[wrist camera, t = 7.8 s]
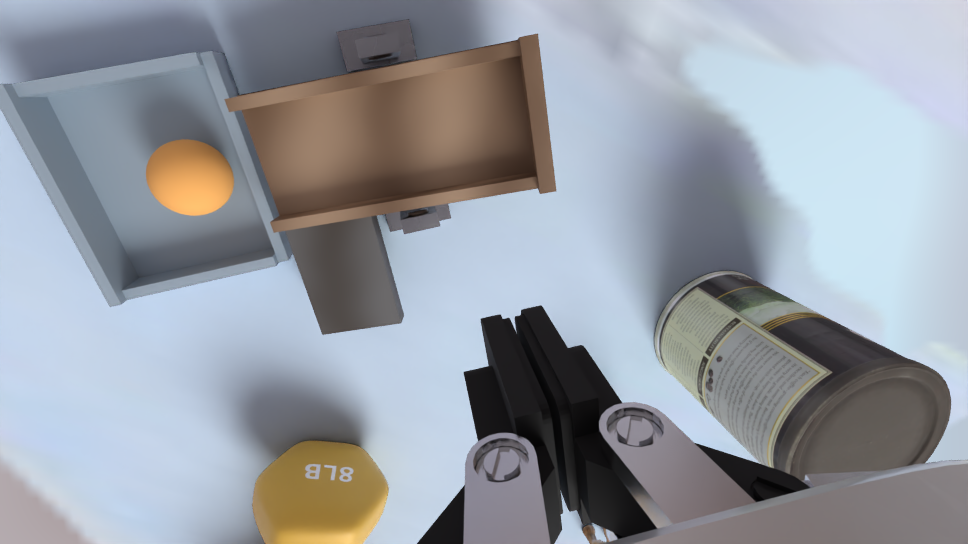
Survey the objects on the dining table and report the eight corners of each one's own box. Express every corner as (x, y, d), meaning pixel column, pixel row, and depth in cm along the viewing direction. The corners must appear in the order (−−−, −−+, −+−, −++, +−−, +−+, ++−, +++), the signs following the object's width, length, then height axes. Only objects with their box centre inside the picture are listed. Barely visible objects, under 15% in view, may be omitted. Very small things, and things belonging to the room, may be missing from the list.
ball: (219, 132, 23) (215, 131, 27) (127, 150, 22) (134, 148, 25) (249, 208, 25) (241, 199, 28) (164, 231, 23) (167, 218, 26)
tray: (224, 53, 25) (203, 48, 23) (294, 249, 30) (284, 267, 27) (36, 86, 24) (-12, 86, 21) (138, 285, 29) (109, 307, 26)
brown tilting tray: (530, 40, 24) (537, 33, 20) (560, 281, 30) (570, 315, 26) (259, 93, 26) (214, 97, 21) (335, 315, 31) (310, 352, 27)
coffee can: (744, 244, 36) (941, 328, 23) (779, 337, 40) (962, 452, 28) (632, 316, 37) (765, 437, 24) (678, 400, 41) (812, 543, 28)
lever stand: (408, 21, 27) (412, 4, 22) (449, 215, 31) (461, 239, 26) (338, 33, 26) (325, 19, 21) (390, 228, 31) (390, 255, 26)
